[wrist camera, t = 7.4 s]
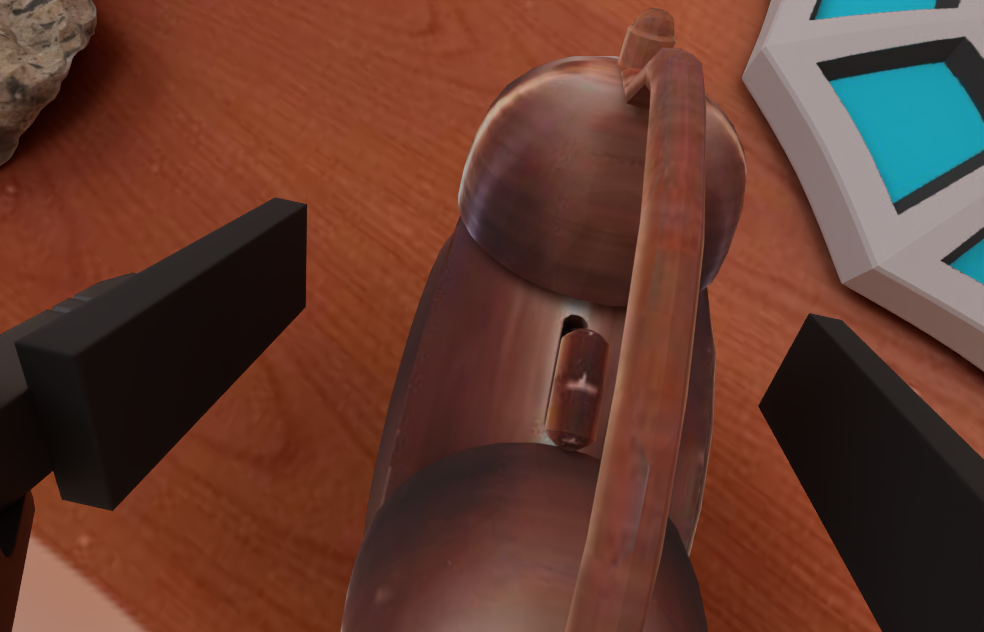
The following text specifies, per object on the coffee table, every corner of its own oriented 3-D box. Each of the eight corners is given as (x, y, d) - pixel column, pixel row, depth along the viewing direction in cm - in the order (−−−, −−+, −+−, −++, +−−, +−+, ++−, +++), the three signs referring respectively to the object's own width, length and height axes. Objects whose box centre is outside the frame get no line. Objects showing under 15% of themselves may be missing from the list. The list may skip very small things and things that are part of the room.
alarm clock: (540, 625, 16) (1121, 1814, 2) (390, 590, 16) (-149, 1498, 2) (596, 302, 19) (978, -172, 5) (470, 274, 19) (487, -278, 5)
